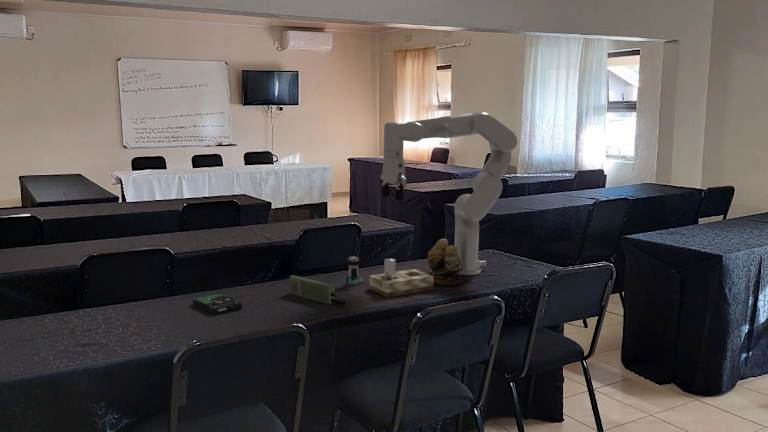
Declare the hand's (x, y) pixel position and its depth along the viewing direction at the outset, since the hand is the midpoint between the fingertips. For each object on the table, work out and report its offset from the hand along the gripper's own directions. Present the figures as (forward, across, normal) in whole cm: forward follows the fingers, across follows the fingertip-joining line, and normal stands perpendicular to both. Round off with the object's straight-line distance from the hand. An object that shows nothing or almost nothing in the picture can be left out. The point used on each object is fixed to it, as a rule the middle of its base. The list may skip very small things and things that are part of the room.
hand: (392, 198), depth 260 cm
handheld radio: (+31, -18, +42) cm, 55 cm away
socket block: (+30, -21, +9) cm, 38 cm away
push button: (+31, -6, +20) cm, 37 cm away
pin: (+29, -21, +14) cm, 38 cm away
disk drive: (+31, -9, +74) cm, 81 cm away
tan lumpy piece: (+31, -20, -11) cm, 38 cm away
